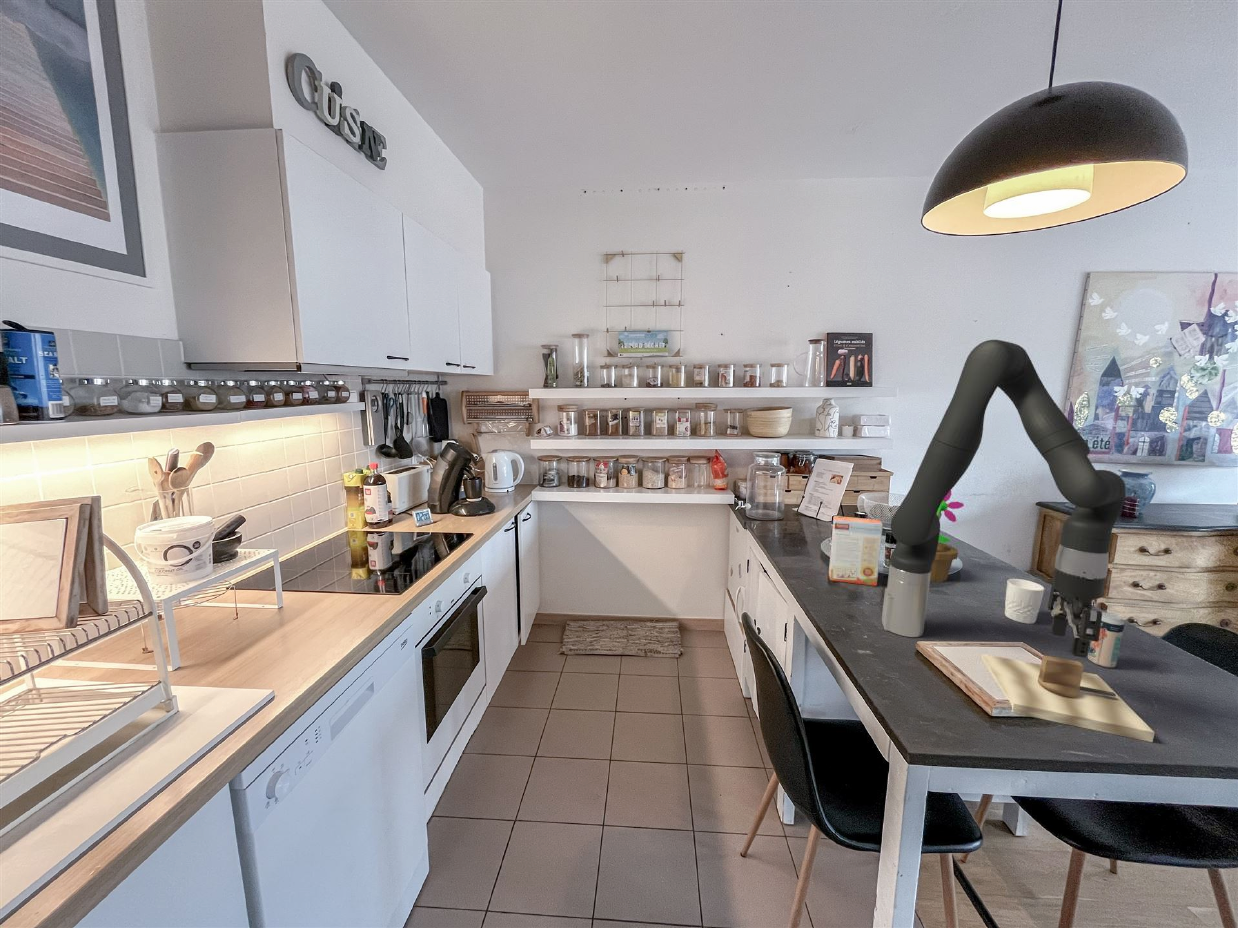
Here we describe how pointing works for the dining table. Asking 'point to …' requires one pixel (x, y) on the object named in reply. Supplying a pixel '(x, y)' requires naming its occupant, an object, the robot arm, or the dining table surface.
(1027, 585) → the white cup
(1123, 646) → the dining table surface
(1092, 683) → the dial board
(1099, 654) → the beer can
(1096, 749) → the dining table surface
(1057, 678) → the tuning knob
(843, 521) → the cracker box
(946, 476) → the robot arm
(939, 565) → the flowerpot
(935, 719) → the dining table surface
